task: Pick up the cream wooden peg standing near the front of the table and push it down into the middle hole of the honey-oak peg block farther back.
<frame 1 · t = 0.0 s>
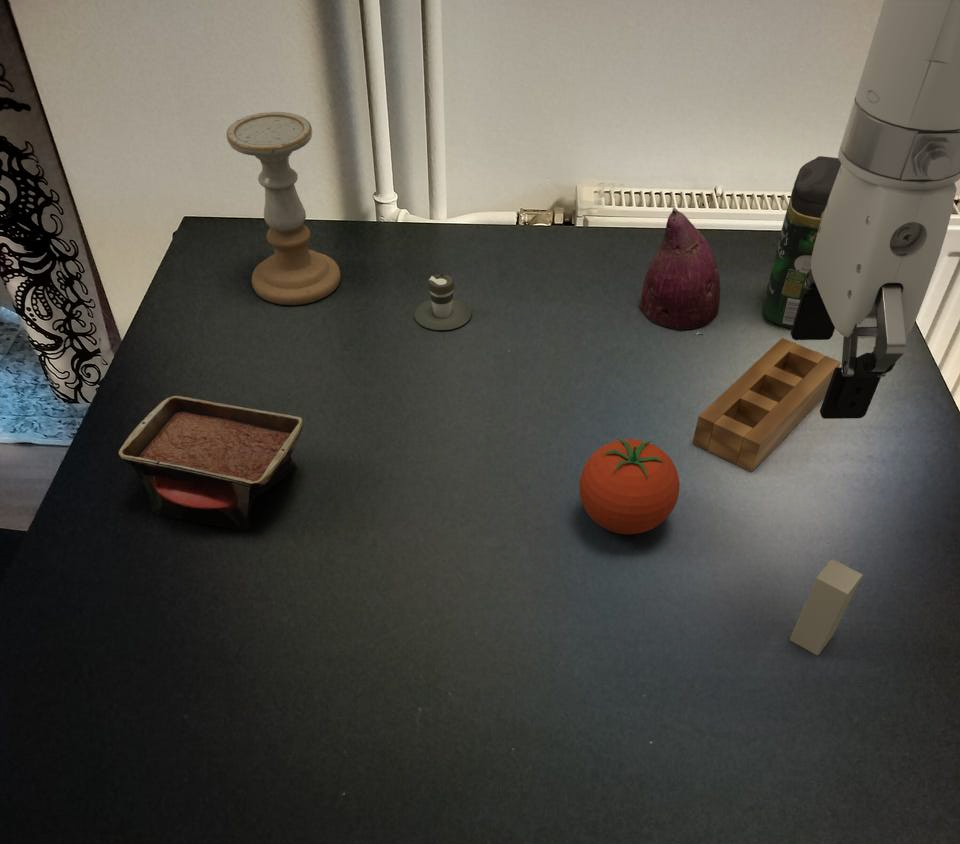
hand: (825, 375, 68), 26 cm above the table, tool pointing down, fingers open, 9 cm apart
vegetable: (678, 310, 120), on the table
coffee jar: (790, 312, 119), on the table
peg: (810, 638, 85), on the table
tomato: (623, 520, 95), on the table
candle holder: (297, 283, 125), on the table
peg block: (763, 415, 106), on the table
baking dish: (226, 489, 99), on the table
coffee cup: (442, 315, 120), on the table
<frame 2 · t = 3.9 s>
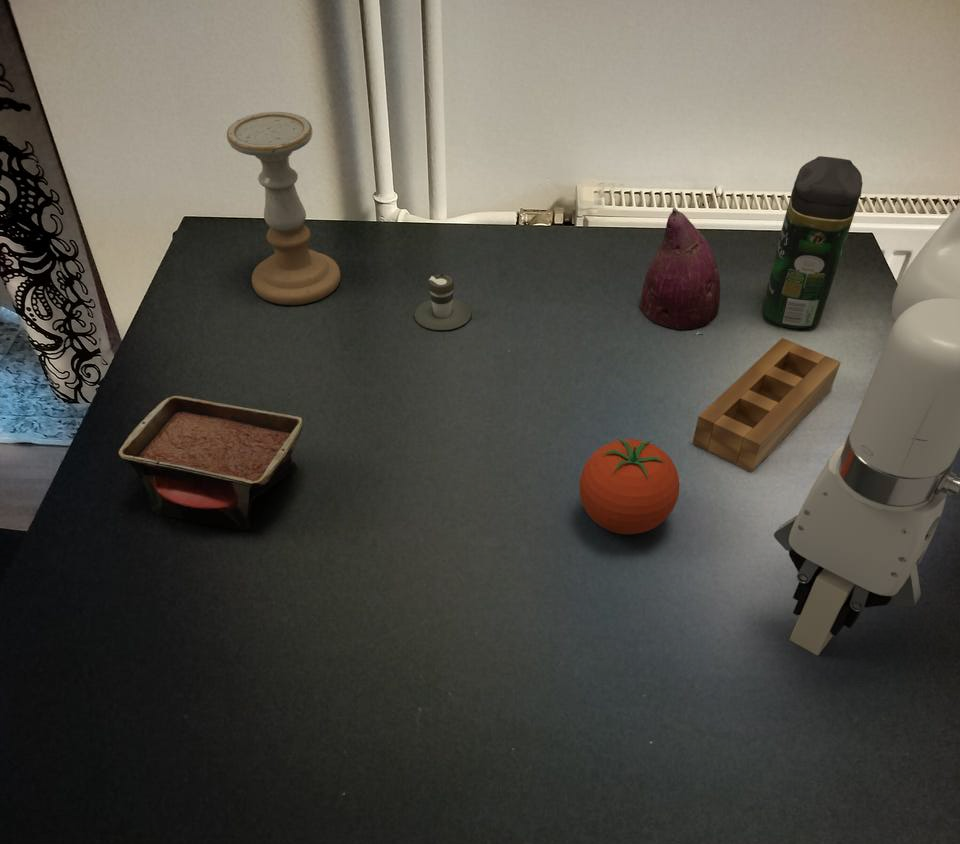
hand: (821, 614, 82), 4 cm above the table, tool pointing down, fingers closed on peg, 3 cm apart
peg: (810, 638, 85), on the table, touching gripper
everything else where it was.
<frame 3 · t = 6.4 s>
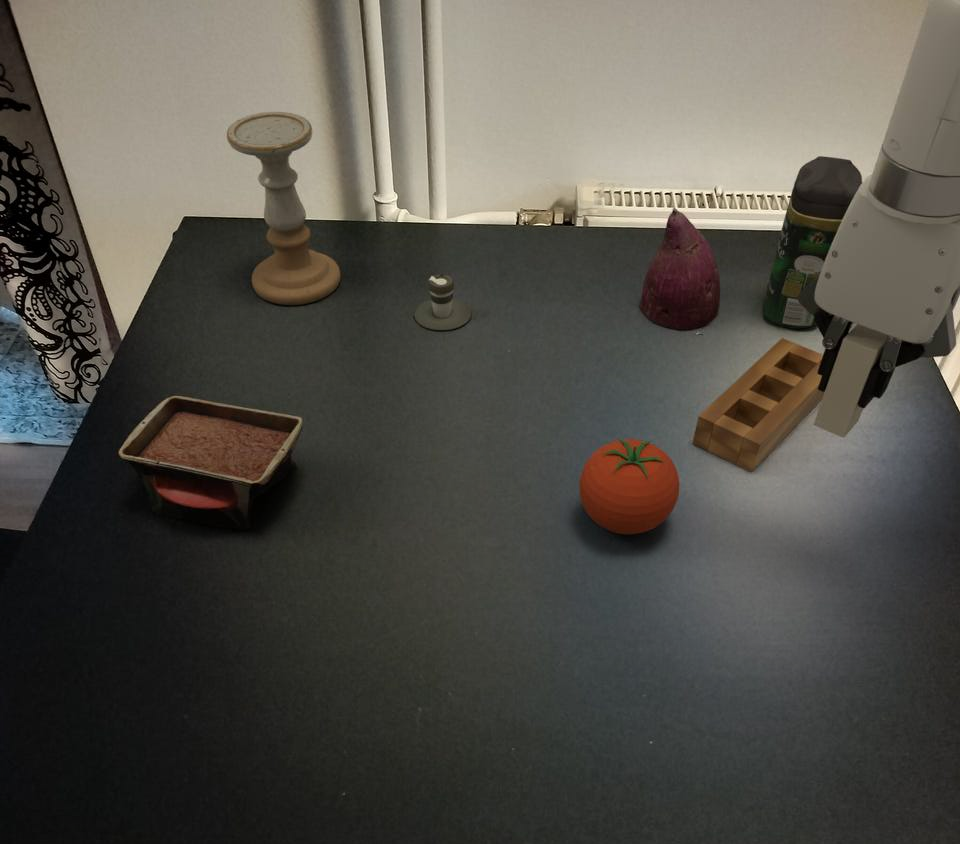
hand: (848, 390, 78), 19 cm above the table, tool pointing down, fingers closed on peg, 3 cm apart
peg: (835, 423, 81), point 15 cm above the table, touching gripper
everything else where it was.
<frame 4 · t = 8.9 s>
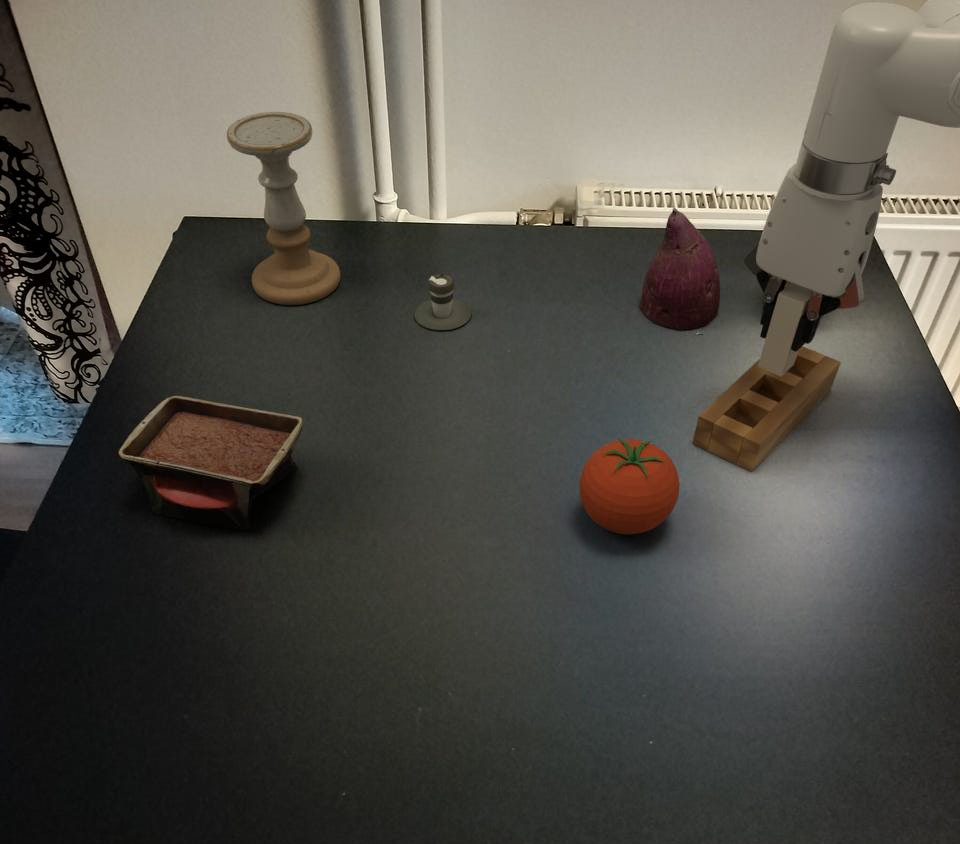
hand: (784, 337, 97), 11 cm above the table, tool pointing down, fingers closed on peg, 3 cm apart
peg: (775, 365, 100), point 7 cm above the table, touching gripper
everything else where it was.
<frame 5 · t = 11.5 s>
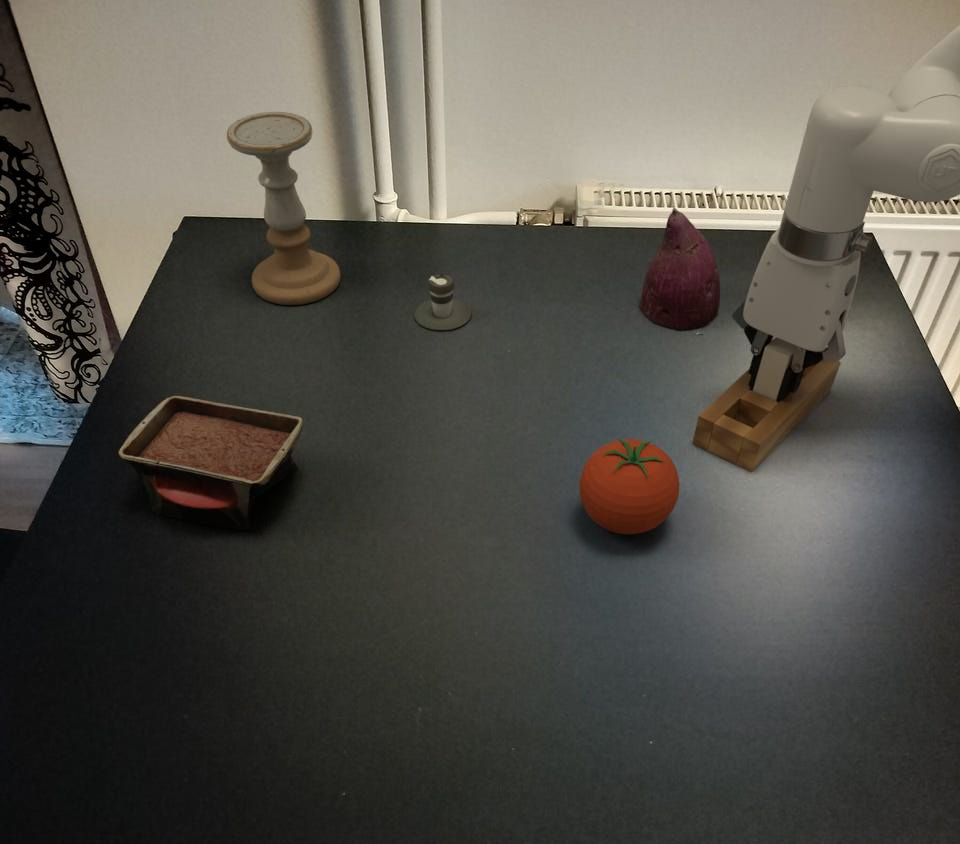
hand: (771, 386, 102), 4 cm above the table, tool pointing down, fingers closed on peg, 3 cm apart
peg: (763, 412, 105), point 1 cm above the table, touching gripper
everything else where it was.
when the fingers open (5 cm above the table, at t = 13.8 s): peg drops 1 cm, resting in peg block.
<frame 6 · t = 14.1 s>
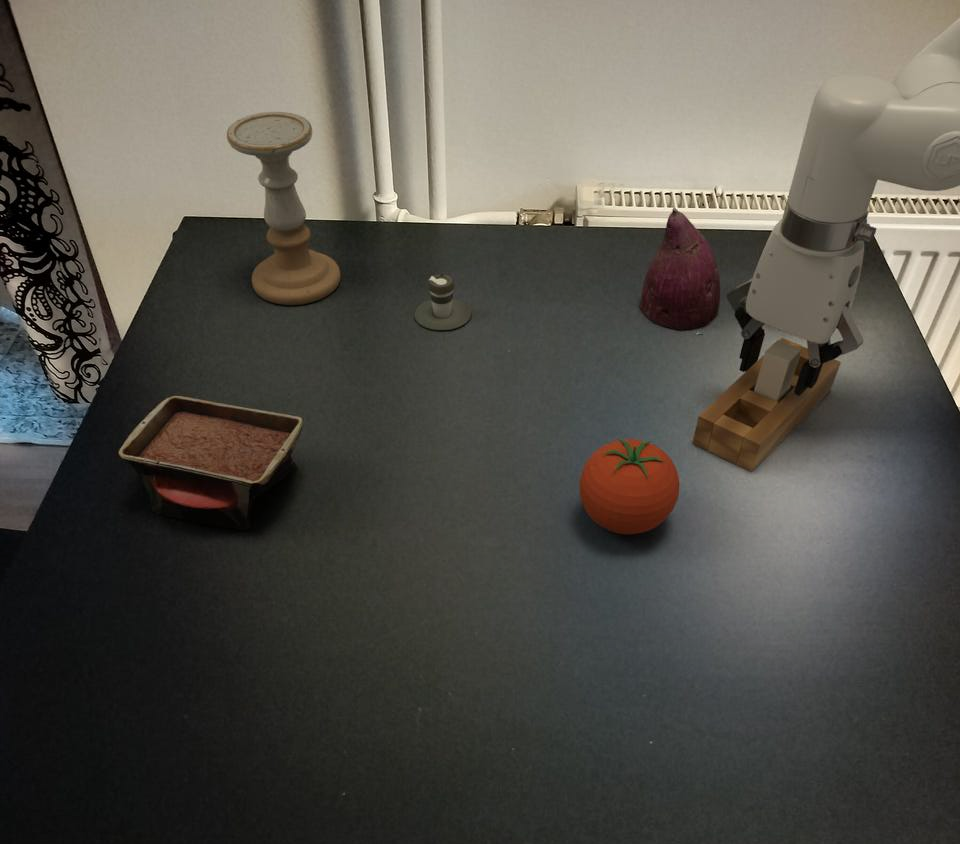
hand: (775, 376, 101), 6 cm above the table, tool pointing down, fingers open, 6 cm apart
peg: (763, 416, 106), resting in peg block
everything else where it was.
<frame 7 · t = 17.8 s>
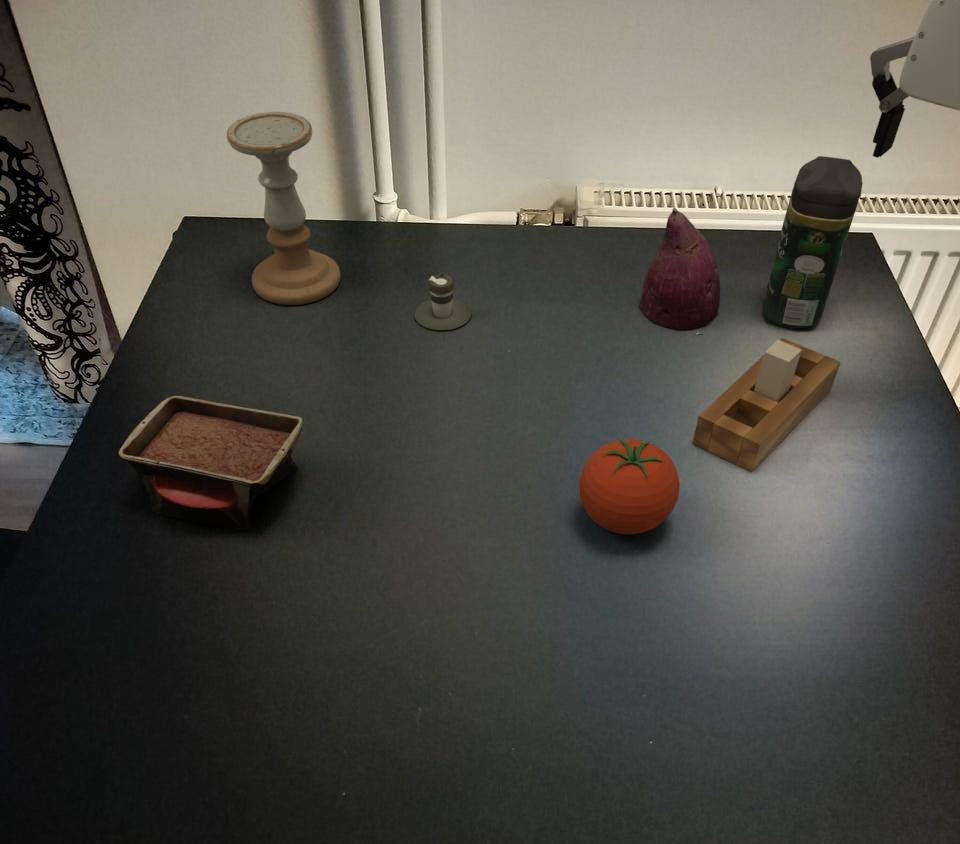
hand: (927, 166, 88), 26 cm above the table, tool pointing down, fingers open, 9 cm apart
nothing on the table moved.
at the end: peg 0.1 cm off-centre in the peg block, point 0.0 cm above the peg block's base; peg tilted 0°; the gripper is holding nothing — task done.
